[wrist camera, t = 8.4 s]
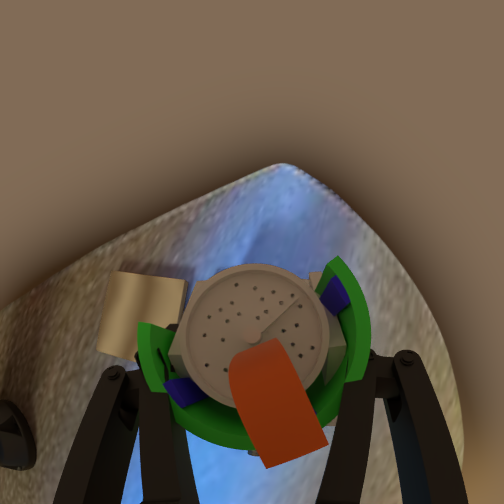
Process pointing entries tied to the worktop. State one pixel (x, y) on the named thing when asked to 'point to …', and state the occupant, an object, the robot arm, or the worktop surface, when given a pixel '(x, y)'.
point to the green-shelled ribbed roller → (261, 358)
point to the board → (137, 309)
